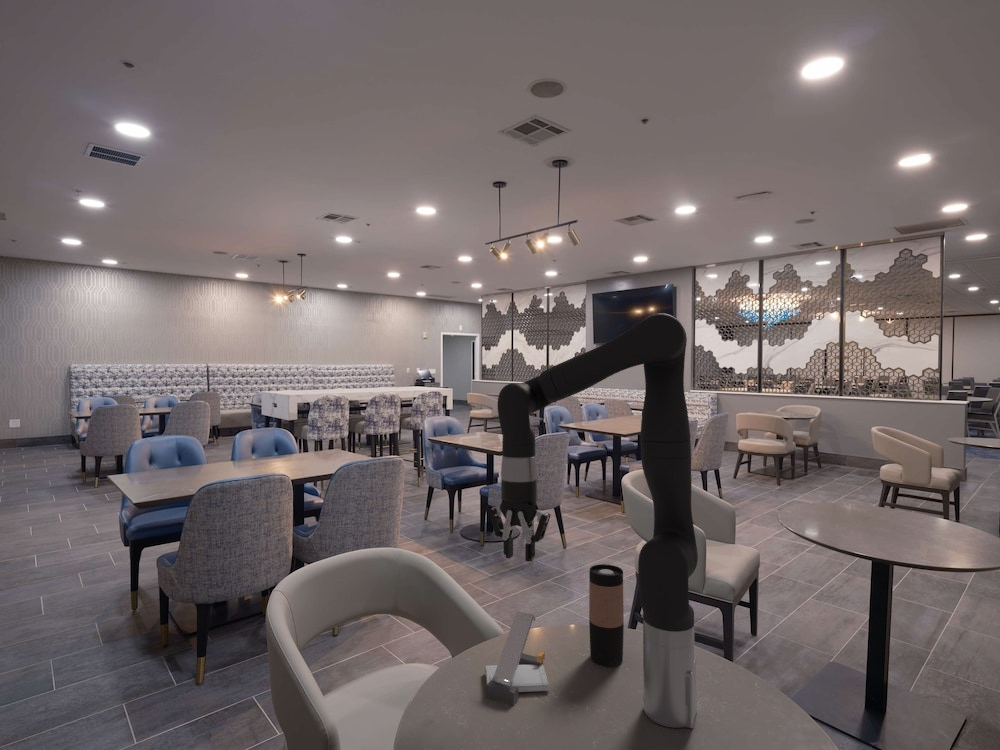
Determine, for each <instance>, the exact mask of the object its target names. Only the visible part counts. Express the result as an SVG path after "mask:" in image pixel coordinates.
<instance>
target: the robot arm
mask: <svg viewBox="0 0 1000 750" xmlns="http://www.w3.org/2000/svg"><path fill="white" fill-rule="evenodd" d="M687 337H688V336H687V332H686V330H685V328H684V326H683V324H682V323H681V322H680V320H679V319H678V318H676V317H675V316H673V315H671V314H668V313H663V312H662V313H659V312H658V313H653V314H650V315H648V316H647V317H645V318H644V319H642V320H640V321H639V322H638V323H637V324H635V325H633V326H632V327H630V328H629V329H627V330H625V331H624V332H623V333H621V334H619V335H618V336H616V337H615V338H613V339H611V340H609V341H607V342H605V343H603V344H601V345H599V346H597V347H595V348H593V349H590V350H588V351H586V352H583V353H581V354H578V355H576V356H574V357H572V358H568V359H566V360H565V361H562V362H560V363H558V364H555V365H553V366H551V367H549V368H546V369H545V370H543V371H542V372H540V374H539V375H538V376H536V377H533V378H531V379H529V380H526V381H524V382H520V383H519V382H514V383H508V384H505V385H504V386H503V387H502V389H501V390H500V391H499V393H498V398H497V414H498V419H499V426H500V429H501V433H502V439H501V440H502V443H501V444H502V455H501V456H502V457H501V459H502V460H501V465H500V467H501V468H500V470H501V471H500V481H501V483H500V488H501V489H500V491H501V492H500V497H501V503H500V505H499V506H494V507H491V508H489V509H488V515H489V518H490V521H491V525H492V529H493V532H494V534H495V535H494V536H496V537H500V538H502V540H503V554H504V556H505V558H506V559H511V558H513V556H514V538H512V537H513V535H514V530H515V528H516V526H518V527H520V528H521V530H522V531H521V532H522V533H523V535H524V539H525V542H526V543H525V545H524V547H525V562H529V563H530V562H531V561H532V560H533V559H534V558H535V556H536V543H539V542H540V541H542V540H543V539H544V537H545V535H546V531H547V528H548V525H549V523H550V520H551V513H550V512H544V511H542V510H539V506H538V504H537V500H538V499H537V498H538V497H537V495H538V493H537V492H538V484H537V483H538V482H537V480H538V479H537V477H538V476H537V472H538V471H537V469H538V468H537V461H536V434H535V432H534V430H533V429H531V423H530V422H531V421H530V415H531V414H534V413H535V412H538V411H540V410H542V409H544V408H546V407H547V406H549V405H551V404H553V403H555V402H558V401H561V400H564V399H566V398H568V397H571V396H574V395H576V394H578V393H581V392H582V391H583V392H584V391H585V390H587V389H589V388H591V387H593V386H595V385H596V384H598V383H600V382H602V381H603V380H605V379H608V378H610V377H611V376H614V375H616V374H617V373H620V372H622V371H625V370H627V369H631V368H634V367H637V366H641V365H643V370H644V371H643V372H644V382H645V383H644V384H645V389H644V390H645V394H644V402H643V406H642V407H643V408H642V413H641V423H640V455H641V457H640V459H641V460H640V461H641V466H642V471H643V475H644V477H645V480H646V484H647V488H648V490H649V492H650V495H651V497H652V503H653V516H654V517H653V535H652V538H650V540H648V541H647V542H646V543H645V544H644V545H643V546H642V547H641V548H640V551H639V553H638V559H637V560H638V563H637V572H638V575H637V576H638V577H637V578H638V595H639V596H638V597H639V603H640V607H641V609H642V614H643V615H642V618H643V619H642V620H643V621H642V626H643V627H642V629H643V633H642V635H643V639H642V640H643V643H642V645H643V647H642V648H643V649H642V650H643V651H642V652H643V660H642V661H643V662H642V663H643V664H642V665H643V666H642V667H643V677H642V678H643V697H642V698H643V699H642V700H643V712H644V714H645V715H646V717H648V719H650V720H651V721H652V722H654V723H656V724H659V725H660V726H664V727H667V728H676V729H677V728H680V729H681V728H688V729H693V728H694V724H695V720H696V716H697V712H698V710H697V708H698V706H697V705H698V703H697V702H698V701H697V700H698V699H697V698H698V697H697V695H698V694H697V693H698V691H697V679H698V678H697V677H698V676H697V660H695V611H694V608H693V606H691V605H690V598H689V596H690V595H689V591H690V590H689V578H690V577H691V576H692V575H693V574H694V572H695V571H696V568H697V565H698V559H699V557H698V554H699V553H698V547H697V542H696V541H697V540H696V534H695V527H694V520H693V513H692V448H691V447H692V444H691V443H692V442H691V432H690V431H691V430H690V420H689V419H690V418H689V415H688V414H689V413H688V407H687V401H686V396H685V395H686V394H685V383H684V382H685V381H684V380H685V378H684V377H685V361H686V359H685V358H686V349H687V341H688V338H687ZM502 515H503V517H504V518H505V521H504V524H503V520H502V519H503V518H502ZM536 517H537V518H536ZM535 518H536V519H537V528H536V530H535V524H534V519H535Z"/></svg>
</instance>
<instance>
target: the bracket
mask: <svg viewBox="0 0 1000 750" xmlns="http://www.w3.org/2000/svg"><path fill="white" fill-rule="evenodd" d="M545 653H546V652H544V651H539V652H538V654H536V656H534V655H532V654H531V655H530V654H527V653H523V652H522V655H521V658H520V662H519V665H531V664H532V665H538V666H540V665H541V664H543V665H544V660H545V658H546V657H545V655H546V654H545ZM486 698H488V699H491V700H494V701H498V702H500V703H505V704H507V705H511V706H514V707H515V705H516V704H517V703H518V701H519V692H518V688H517V687H514V686H512V687H508V686H505V685H501V684H498V683H494V682H492V680H491V681H490V682H489V683H488V684H487V685H486Z"/></svg>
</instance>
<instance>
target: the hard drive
mask: <svg viewBox="0 0 1000 750" xmlns="http://www.w3.org/2000/svg"><path fill="white" fill-rule="evenodd" d="M496 668H497V665H485V668H484V669H485V671H484V673H485V680H486V681H485V683H486V685H485V686H487V684H488V683H489V682H490V681H491V680H492V678H493V677H494V674H495V671H496ZM512 686H514V687H517V688H518V693H526V692H549V691H550V683H549V680H548V678H547V674H546V670H545V667H544V663H543V664H541V665H540V666H538V665H532V664H531V665H518V668H517V671H516V674H515V677H514V680H513V684H512Z"/></svg>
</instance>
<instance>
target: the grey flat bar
mask: <svg viewBox="0 0 1000 750" xmlns="http://www.w3.org/2000/svg"><path fill="white" fill-rule="evenodd" d="M533 621H536V617H535V615H534V613H533V614H531V613H529V612H528V613H527V612H523V611H519V610H516V612H515V615H514V617H513V620H512V623H511V626H510V629H509V630H508V631H509V632H508V634H507V637H506V641H505V643H504V646H503V649H502V651H501V654H500V657H499V660H498V663H497V664H496V666H497V668H496V671H495V674H494V677H493V678H492V682H494V683H498V684H501V685H505V686H508V687H512V684H513V680H514V677H515V674H516V671H517V668H518V665H519V662H520V658H521V655H522V653H523V652H524V648H525V645H526V642H527V640H528V636H529V634H530V630H531V627H532V624H533Z"/></svg>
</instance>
